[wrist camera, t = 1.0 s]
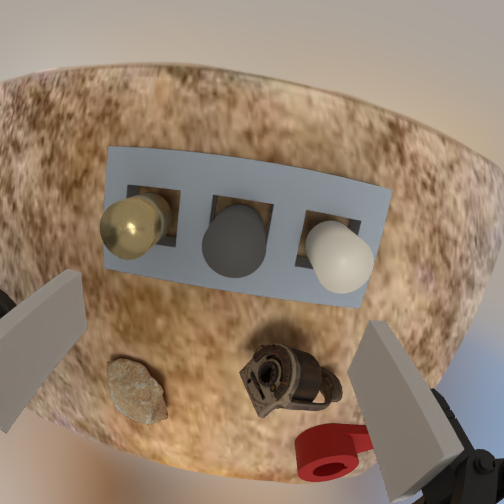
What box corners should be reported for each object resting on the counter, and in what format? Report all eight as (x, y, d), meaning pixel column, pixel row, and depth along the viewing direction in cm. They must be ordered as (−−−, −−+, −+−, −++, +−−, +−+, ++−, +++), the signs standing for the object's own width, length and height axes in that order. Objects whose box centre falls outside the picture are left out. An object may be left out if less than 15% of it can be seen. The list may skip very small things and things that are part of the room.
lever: (290, 453, 40) (293, 483, 34) (299, 423, 37) (304, 458, 31) (383, 443, 40) (392, 469, 34) (402, 413, 37) (415, 441, 31)
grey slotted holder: (116, 258, 29) (104, 268, 26) (122, 146, 25) (108, 146, 22) (351, 295, 30) (359, 308, 27) (379, 186, 26) (392, 190, 23)
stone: (124, 399, 37) (112, 419, 33) (109, 351, 33) (93, 372, 29) (173, 414, 36) (163, 437, 32) (165, 367, 32) (152, 392, 28)
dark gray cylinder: (209, 250, 25) (198, 272, 20) (216, 200, 23) (205, 211, 19) (259, 258, 25) (260, 282, 20) (268, 208, 24) (271, 221, 19)
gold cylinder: (126, 237, 25) (100, 254, 20) (128, 189, 23) (100, 198, 18) (170, 244, 25) (151, 264, 20) (174, 195, 23) (154, 204, 19)
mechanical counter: (261, 308, 31) (262, 370, 21) (358, 340, 32) (386, 398, 22) (237, 356, 33) (231, 420, 23) (329, 382, 34) (345, 440, 24)
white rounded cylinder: (300, 264, 25) (309, 289, 20) (310, 216, 24) (324, 231, 19) (346, 271, 25) (364, 296, 20) (358, 225, 24) (380, 241, 19)
